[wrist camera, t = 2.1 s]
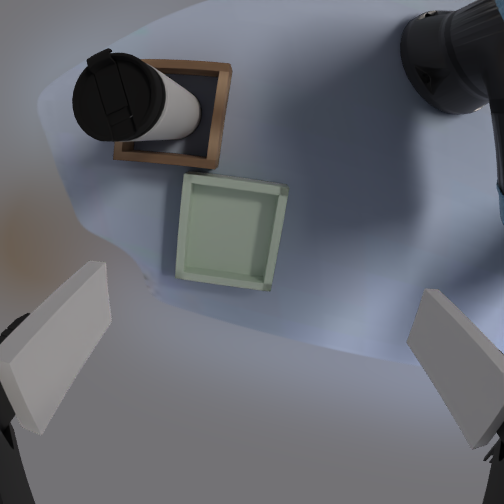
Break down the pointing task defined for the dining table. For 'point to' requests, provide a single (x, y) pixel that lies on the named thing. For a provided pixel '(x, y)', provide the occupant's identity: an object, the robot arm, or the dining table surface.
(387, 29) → the dining table surface
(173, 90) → the travel mug
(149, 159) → the holder
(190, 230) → the tray
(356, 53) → the dining table surface
